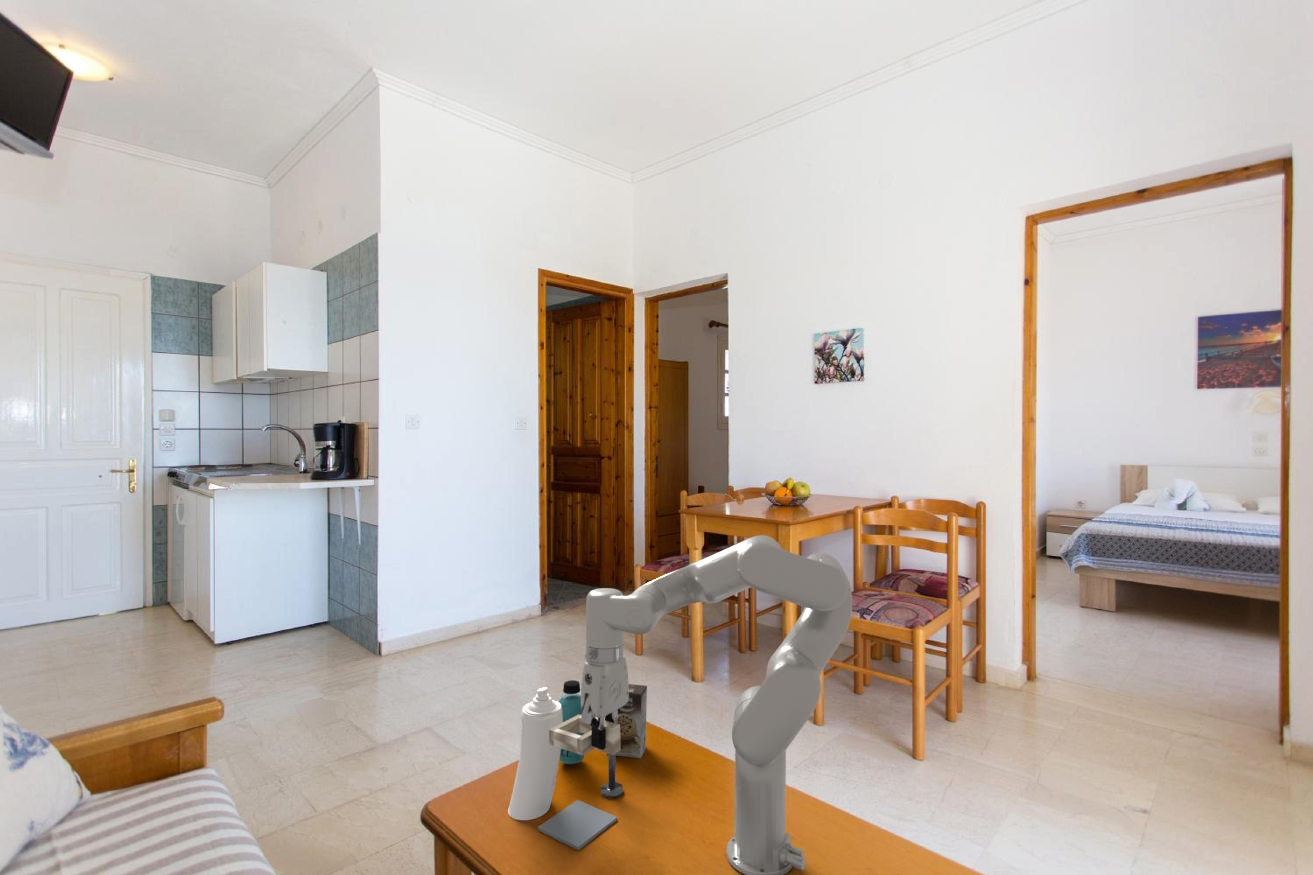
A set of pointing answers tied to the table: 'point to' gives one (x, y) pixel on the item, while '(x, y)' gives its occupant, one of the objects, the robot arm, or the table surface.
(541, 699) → the spray can
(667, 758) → the table surface
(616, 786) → the stand
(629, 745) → the coffee box
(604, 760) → the table surface
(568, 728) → the cream square frame
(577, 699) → the beverage bottle
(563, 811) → the mat
